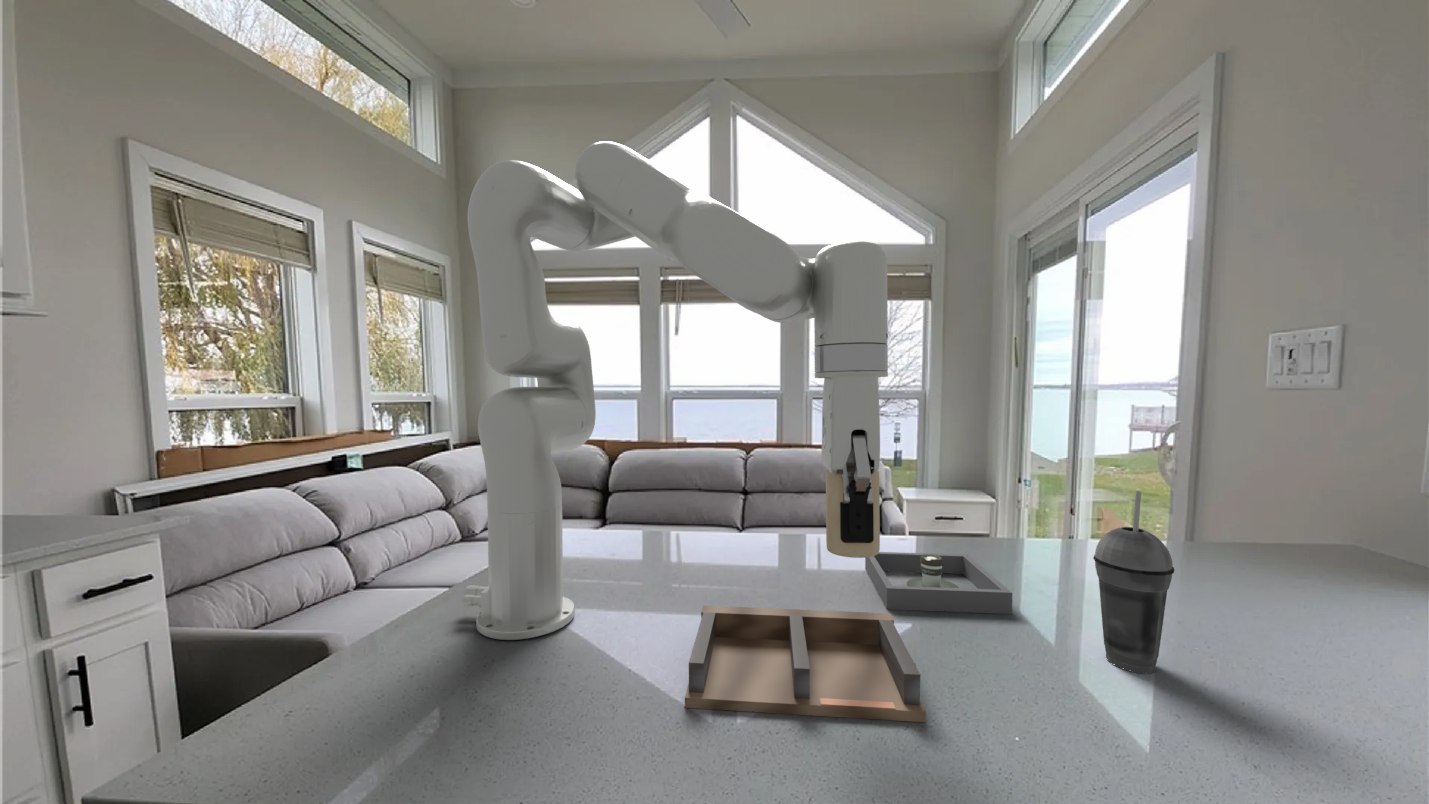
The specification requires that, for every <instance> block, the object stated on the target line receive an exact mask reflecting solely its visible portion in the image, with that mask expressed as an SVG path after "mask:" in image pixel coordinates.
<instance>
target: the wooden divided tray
mask: <svg viewBox="0 0 1429 804" xmlns="http://www.w3.org/2000/svg"><path fill="white" fill-rule="evenodd" d="M700 613H701V614H700V616H701V617H700V618H701V619H700V623H699V626H698V630H697V633H696V636H695V640H694V644H693V647H692V650H691V654H690V658H689V660H688V685H687V689H686V692H685V696H684V709H685V708H687V709H702V710H717V711H718V710H719V711H732V712H733V711H734V712H735V711H736V712H749V713H753V712H752V711H755V712H754V713H765V714H766V713H769V714H785V715H797V716H798V715H800V716H814V717H815V716H817V717H819V716H820V717H830V718H831V717H833V718H848V719H850V718H852V719H867V720H880V721H881V720H883V721H898V722H899V721H901V722H914V723H915V722H917V723H926V720H927V718H926V715H927V714H926V713H927V712H926V710H925V707H924V705H923V703H922V701H921V674H920V671H919V669H918V668H917V665H916V663H915V662H914V659H913V658H912V656H911V655H910V652H909V651H908V648H907V647H906V645H905V643H904V642H903V640H902V638H901V635H900V634H899V631H898V630H897V628H896V625H895V620H894V618H893V616H892V613H890V612H870V611H869V612H866V611H865V612H864V611H844V610H840V611H839V610H821V609H820V610H817V609H795V608H793V609H792V608H790V609H789V608H774V607H773V608H766V607H749V606H748V607H747V606H746V607H743V606H725V605H723V606H721V605H720V606H719V605H718V606H717V605H702V609H701V611H700Z"/></svg>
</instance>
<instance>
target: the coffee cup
mask: <svg viewBox="0 0 1429 804" xmlns="http://www.w3.org/2000/svg"><path fill="white" fill-rule="evenodd" d="M933 554H934V553H932V554H923V555H921V558H920V563H921V572H920V573H921V576H922V577H914V578H911V579H908V580H907V582H906V586H911V587H938V588H960V587H959V586H958V585H957V584H955V583H953V582H950V581H948V580H945V579H941V578H942V574H943V573H942V566H944V563H943V559H942V557H940V556H937V555H933Z"/></svg>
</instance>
